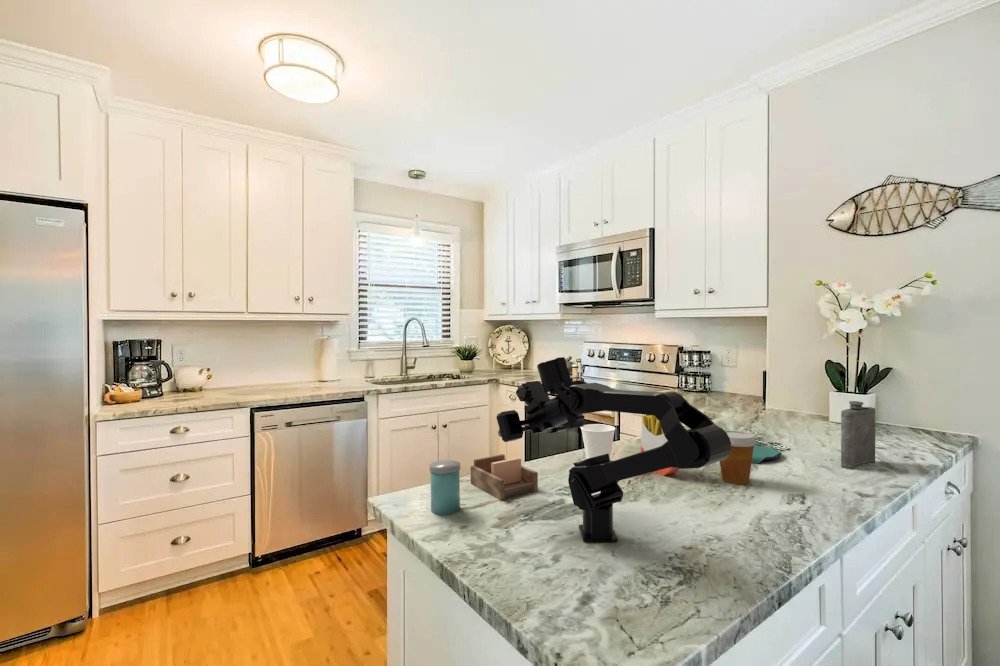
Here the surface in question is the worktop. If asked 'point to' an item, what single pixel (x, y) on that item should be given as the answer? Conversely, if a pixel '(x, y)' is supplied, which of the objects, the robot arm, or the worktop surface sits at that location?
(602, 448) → the cup
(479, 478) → the small wooden crate
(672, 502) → the worktop surface
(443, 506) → the teal lidded canister
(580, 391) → the robot arm
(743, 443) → the disposable coffee cup
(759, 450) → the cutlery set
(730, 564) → the worktop surface
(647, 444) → the french fries container
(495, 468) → the bar
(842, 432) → the flask
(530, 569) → the worktop surface
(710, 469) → the worktop surface
